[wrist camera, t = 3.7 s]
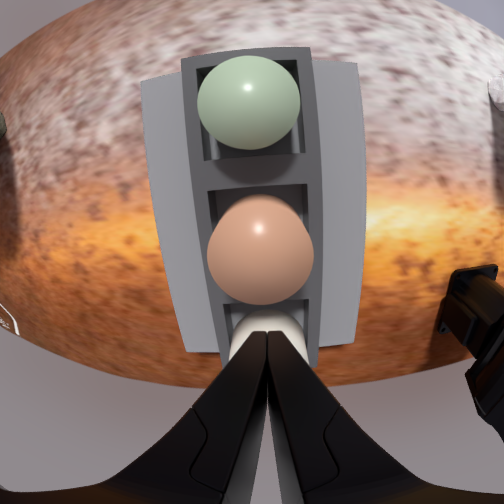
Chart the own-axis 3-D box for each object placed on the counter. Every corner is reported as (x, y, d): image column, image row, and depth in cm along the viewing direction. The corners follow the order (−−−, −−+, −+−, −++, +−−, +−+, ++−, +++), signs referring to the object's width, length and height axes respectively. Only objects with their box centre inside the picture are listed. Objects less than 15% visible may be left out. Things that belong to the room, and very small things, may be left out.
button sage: (288, 71, 11) (294, 53, 8) (295, 147, 12) (304, 146, 10) (207, 78, 11) (194, 62, 9) (213, 153, 13) (201, 154, 10)
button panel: (344, 73, 14) (369, 52, 9) (345, 322, 20) (360, 361, 16) (156, 89, 14) (124, 74, 10) (193, 331, 21) (180, 370, 17)
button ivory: (304, 307, 14) (311, 339, 11) (302, 361, 15) (307, 393, 13) (228, 311, 14) (221, 343, 12) (236, 364, 16) (233, 397, 13)
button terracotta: (302, 191, 12) (313, 202, 9) (304, 272, 13) (313, 301, 11) (213, 197, 12) (200, 210, 10) (223, 277, 13) (215, 306, 11)
